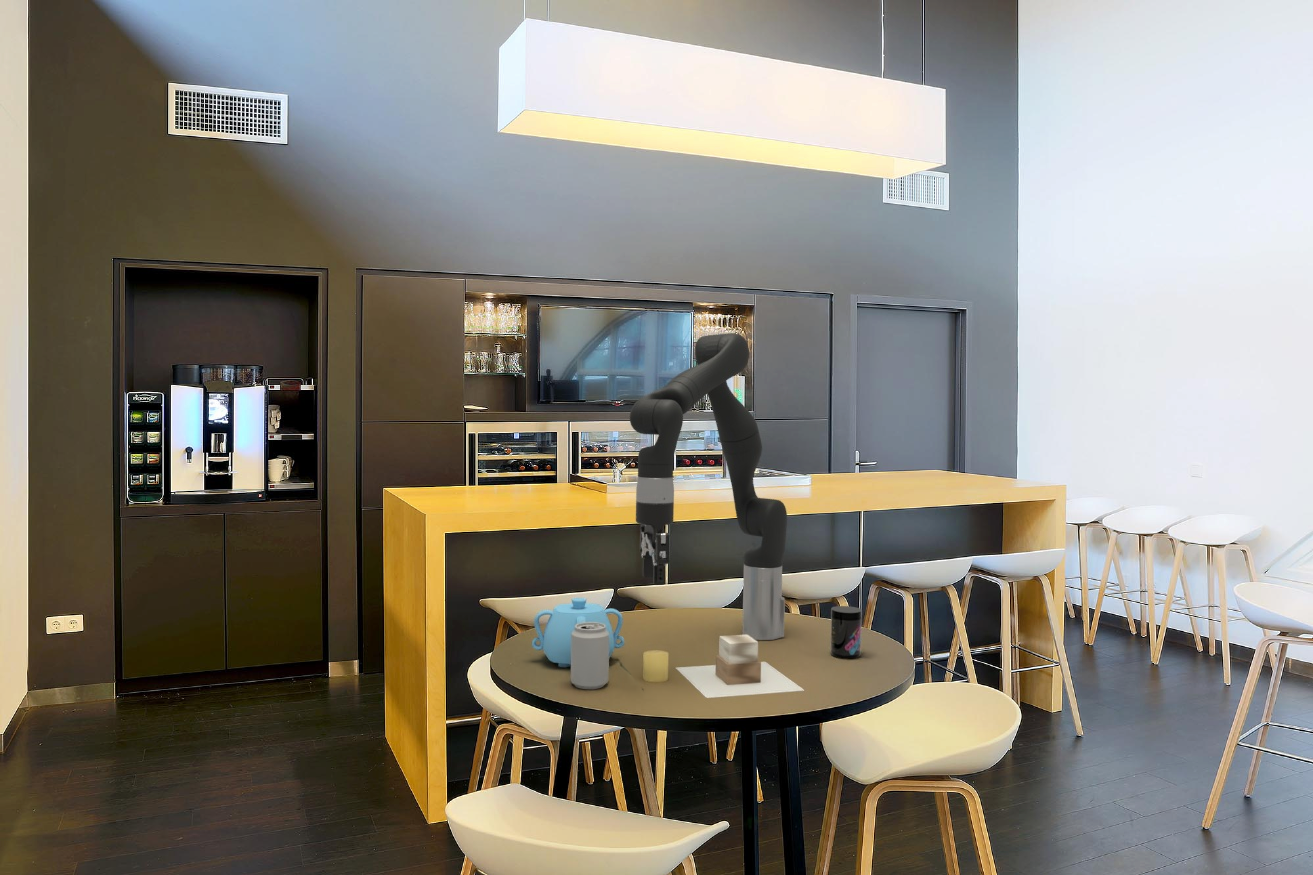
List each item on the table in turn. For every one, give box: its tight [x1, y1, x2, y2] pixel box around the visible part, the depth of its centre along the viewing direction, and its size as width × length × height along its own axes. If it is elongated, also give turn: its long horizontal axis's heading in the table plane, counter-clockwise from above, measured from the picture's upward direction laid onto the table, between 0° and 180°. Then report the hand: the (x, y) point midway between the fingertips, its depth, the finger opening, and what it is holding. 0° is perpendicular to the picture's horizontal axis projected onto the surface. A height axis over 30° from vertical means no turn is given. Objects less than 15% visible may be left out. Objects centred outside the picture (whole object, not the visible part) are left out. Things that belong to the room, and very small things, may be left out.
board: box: [675, 661, 806, 699], centre depth 186 cm, size 20×20×1 cm
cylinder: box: [642, 649, 669, 683], centre depth 185 cm, size 5×5×6 cm
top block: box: [718, 634, 759, 664], centre depth 186 cm, size 6×6×4 cm
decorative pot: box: [531, 597, 626, 668], centre depth 200 cm, size 16×16×14 cm
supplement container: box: [829, 605, 863, 660], centre depth 208 cm, size 7×7×10 cm
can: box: [570, 622, 610, 690], centre depth 184 cm, size 8×8×12 cm
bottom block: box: [715, 654, 762, 685], centre depth 186 cm, size 7×7×4 cm
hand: (653, 580), depth 185 cm, fingers open, 8 cm apart
